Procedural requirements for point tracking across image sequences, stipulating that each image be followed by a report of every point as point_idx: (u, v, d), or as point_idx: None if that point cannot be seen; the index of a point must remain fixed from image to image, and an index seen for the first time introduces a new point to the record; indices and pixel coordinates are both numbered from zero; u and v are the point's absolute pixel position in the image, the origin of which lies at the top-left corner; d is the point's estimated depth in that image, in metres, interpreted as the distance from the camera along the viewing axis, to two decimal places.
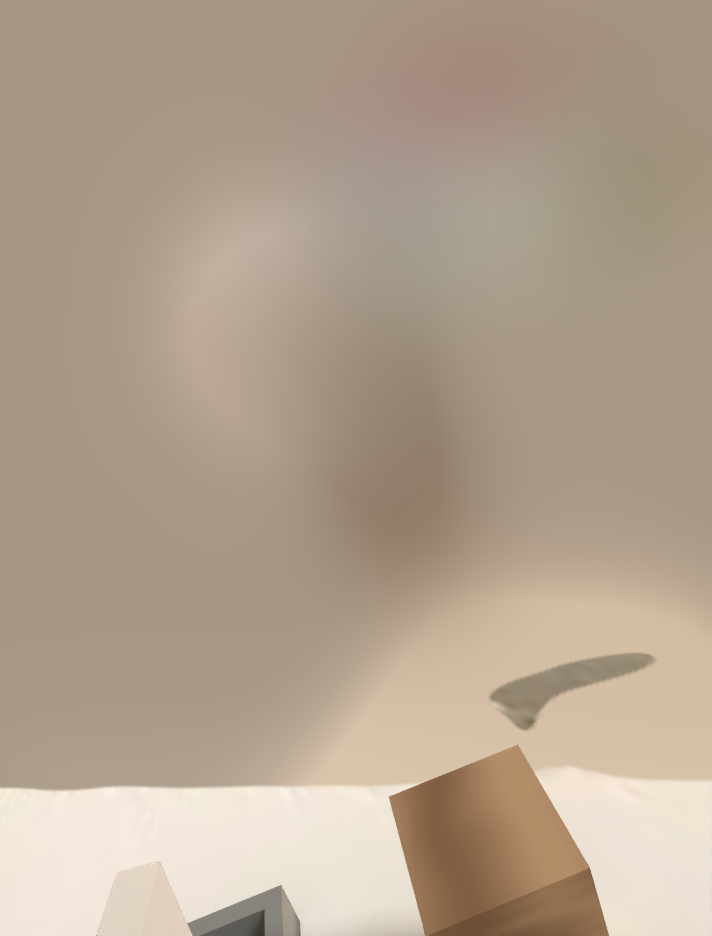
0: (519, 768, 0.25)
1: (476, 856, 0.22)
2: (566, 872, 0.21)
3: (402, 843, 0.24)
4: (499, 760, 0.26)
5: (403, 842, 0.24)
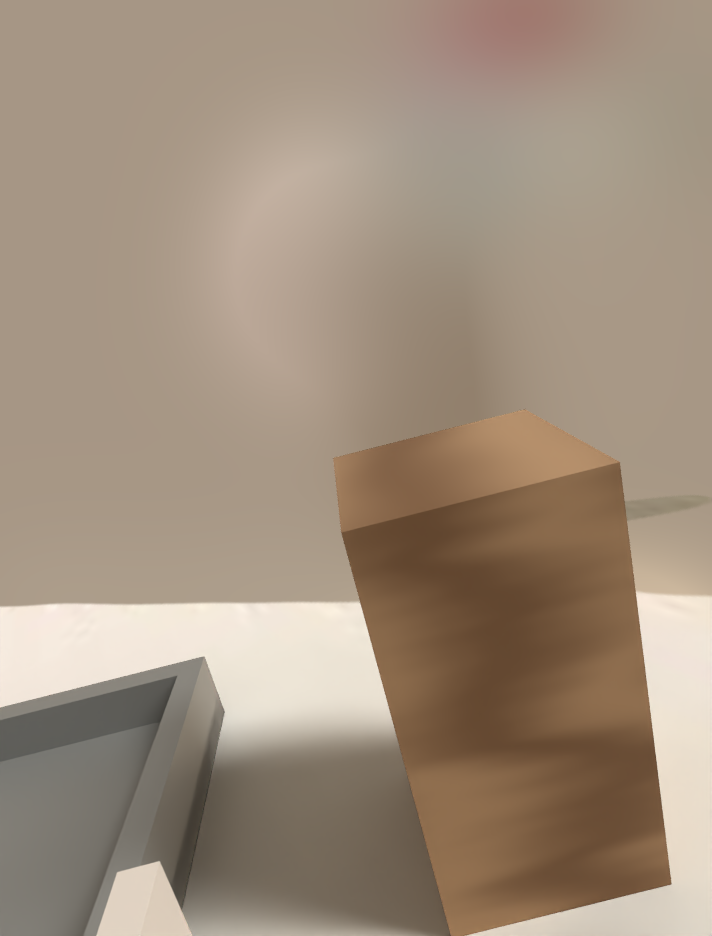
0: (524, 420, 0.17)
1: (441, 475, 0.15)
2: (581, 468, 0.13)
3: (337, 480, 0.16)
4: (496, 420, 0.18)
5: (339, 479, 0.16)
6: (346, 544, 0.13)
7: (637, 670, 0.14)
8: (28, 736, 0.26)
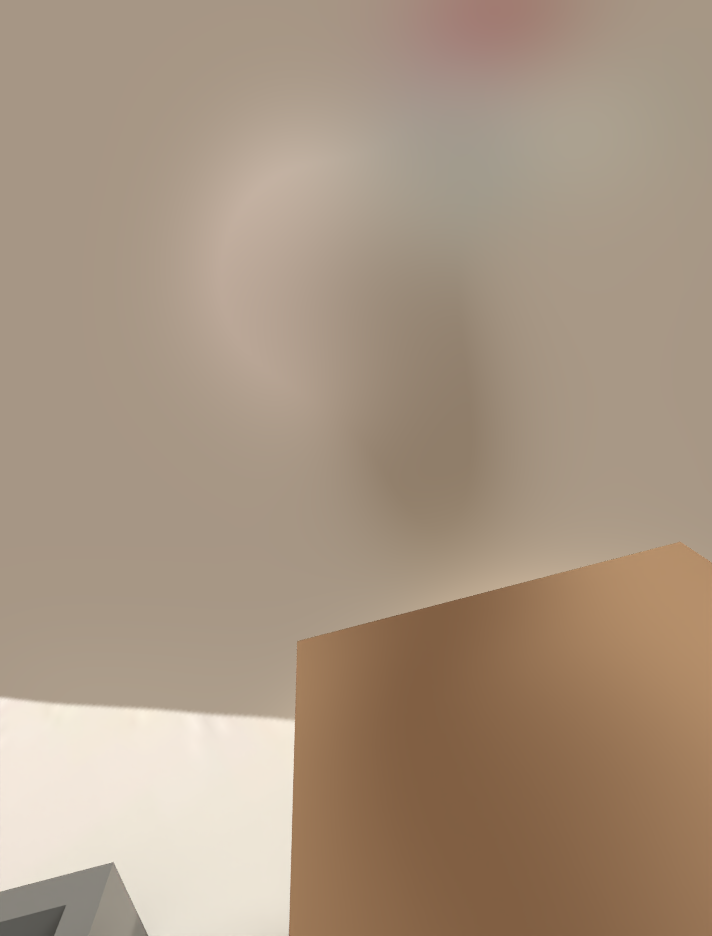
0: (702, 584, 0.08)
1: (574, 820, 0.05)
2: None
3: (298, 753, 0.07)
4: (629, 569, 0.09)
5: (301, 752, 0.07)
6: None
7: None
8: None
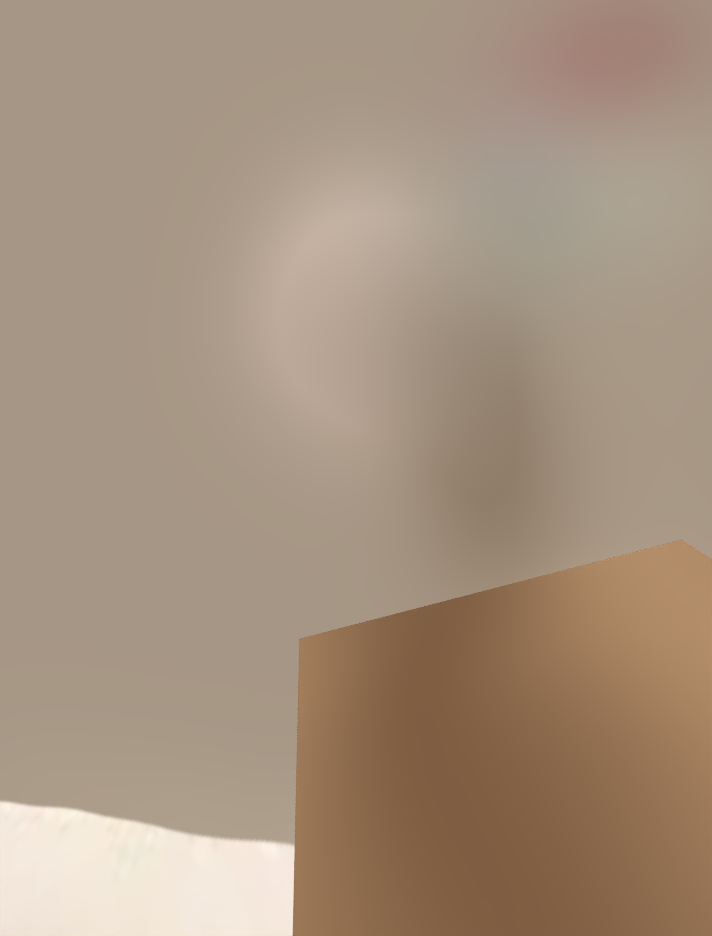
0: (704, 582, 0.08)
1: (576, 815, 0.05)
2: None
3: (300, 750, 0.07)
4: (631, 567, 0.09)
5: (304, 748, 0.07)
6: None
7: None
8: None
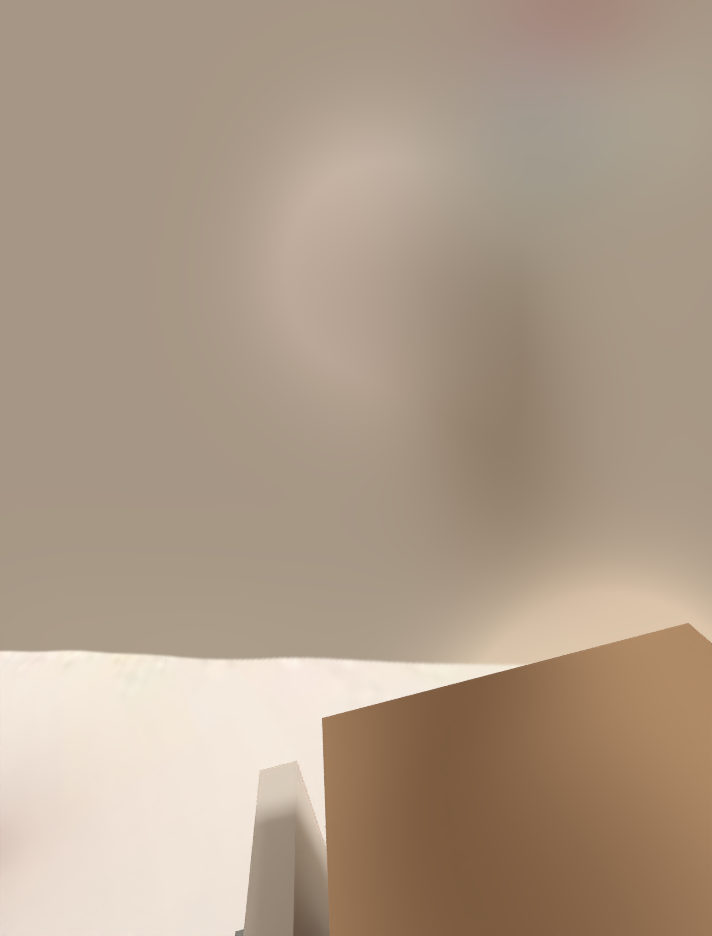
0: (710, 674, 0.08)
1: None
2: None
3: (330, 848, 0.07)
4: (640, 653, 0.09)
5: (333, 846, 0.07)
6: None
7: None
8: None
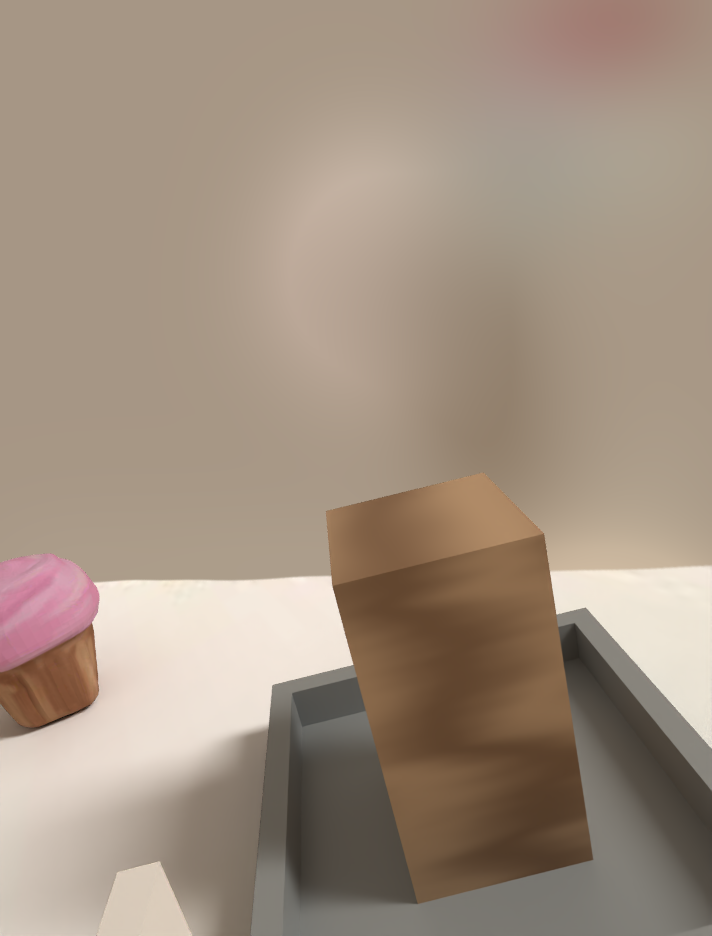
0: (481, 485, 0.21)
1: (411, 536, 0.19)
2: (515, 538, 0.17)
3: (329, 534, 0.20)
4: (459, 482, 0.22)
5: (330, 534, 0.20)
6: (336, 594, 0.17)
7: (561, 690, 0.18)
8: None
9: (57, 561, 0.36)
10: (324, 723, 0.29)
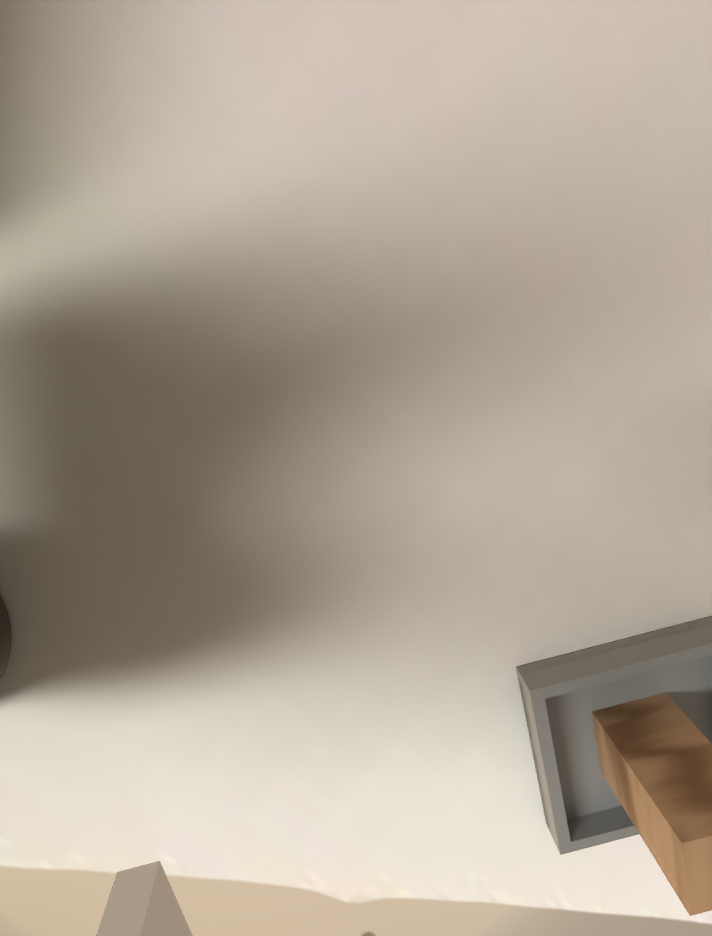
0: (695, 900, 0.38)
1: None
2: (694, 842, 0.36)
3: None
4: (705, 906, 0.38)
5: None
6: None
7: (639, 777, 0.41)
8: None
9: None
10: None
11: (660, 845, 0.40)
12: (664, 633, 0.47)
